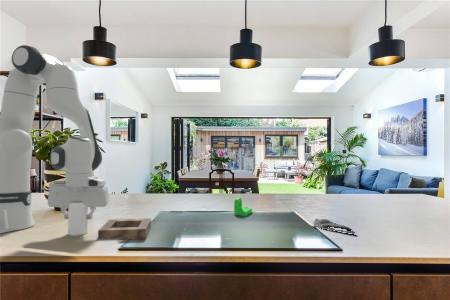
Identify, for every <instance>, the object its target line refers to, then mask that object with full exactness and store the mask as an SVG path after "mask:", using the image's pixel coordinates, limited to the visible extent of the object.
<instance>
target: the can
mask: <svg viewBox="0 0 450 300" xmlns="http://www.w3.org/2000/svg"><path fill="white" fill-rule="evenodd" d="M67 210H68V211H67V213H68V219H67V220H68V221H67V234H68V235H69V236H74V237H75V236H77V237H78V236H83V235H86V234H87V233H88V232H89V219H87V214H89V207H85V205H84V204H83V202H70V205H69V207H67Z"/></svg>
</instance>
